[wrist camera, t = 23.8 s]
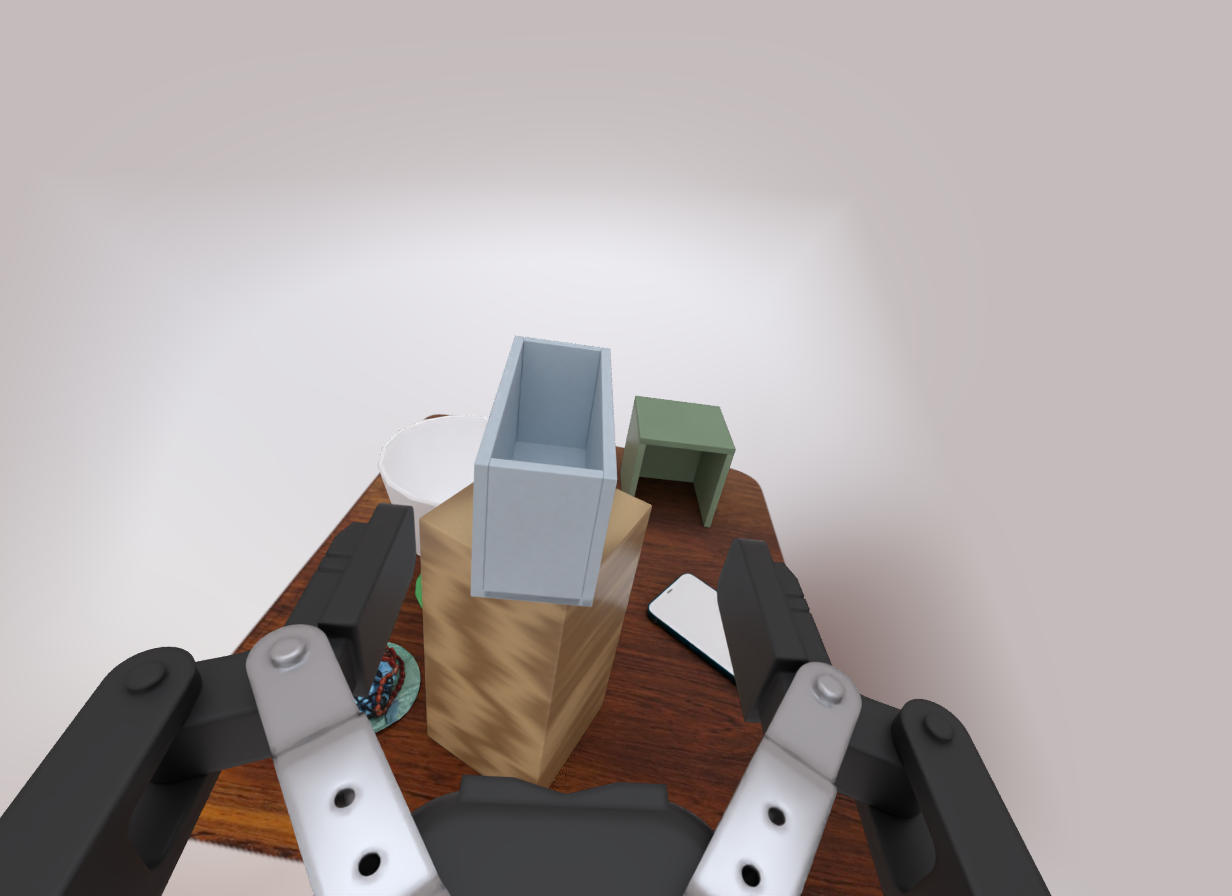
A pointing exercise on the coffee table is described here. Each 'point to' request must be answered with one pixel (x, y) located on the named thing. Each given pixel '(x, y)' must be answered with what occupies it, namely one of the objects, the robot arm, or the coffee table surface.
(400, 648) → the dish
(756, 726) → the coffee table surface
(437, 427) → the cup
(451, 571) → the stand
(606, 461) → the bin
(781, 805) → the robot arm
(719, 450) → the cabinet
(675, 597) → the smartphone
